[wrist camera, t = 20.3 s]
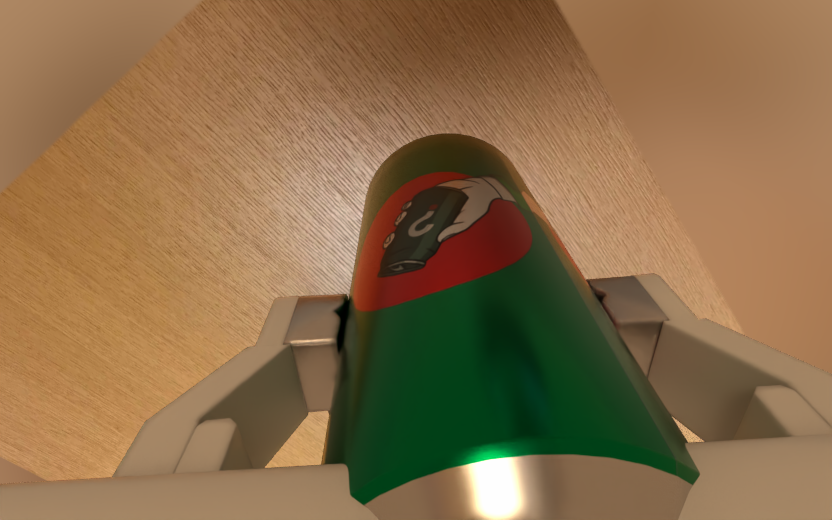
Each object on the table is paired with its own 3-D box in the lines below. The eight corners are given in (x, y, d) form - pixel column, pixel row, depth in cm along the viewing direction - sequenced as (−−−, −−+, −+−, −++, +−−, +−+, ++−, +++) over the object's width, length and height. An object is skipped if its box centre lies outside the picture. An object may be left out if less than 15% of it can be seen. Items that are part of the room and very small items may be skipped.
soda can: (338, 228, 15) (207, 733, 5) (420, 94, 13) (490, 488, 3) (462, 293, 17) (560, 785, 6) (553, 182, 15) (920, 651, 4)
